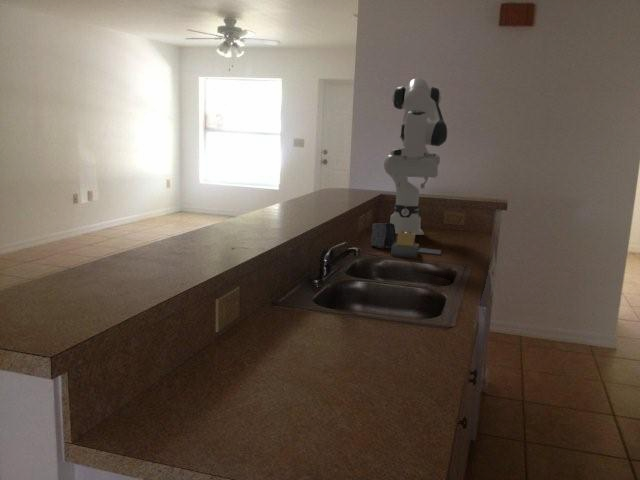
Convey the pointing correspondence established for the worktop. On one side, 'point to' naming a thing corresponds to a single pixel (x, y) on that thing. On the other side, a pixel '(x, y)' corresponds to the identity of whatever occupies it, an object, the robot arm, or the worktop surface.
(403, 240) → the ring
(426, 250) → the mat
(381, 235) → the stone
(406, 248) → the post block
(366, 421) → the worktop surface
